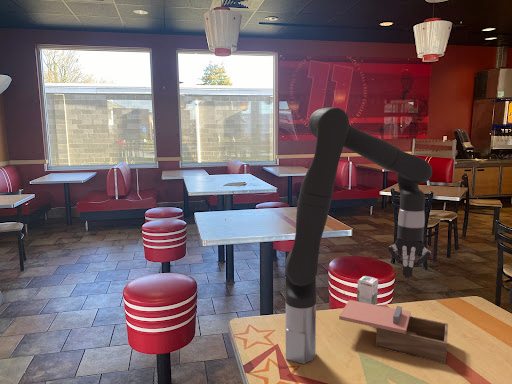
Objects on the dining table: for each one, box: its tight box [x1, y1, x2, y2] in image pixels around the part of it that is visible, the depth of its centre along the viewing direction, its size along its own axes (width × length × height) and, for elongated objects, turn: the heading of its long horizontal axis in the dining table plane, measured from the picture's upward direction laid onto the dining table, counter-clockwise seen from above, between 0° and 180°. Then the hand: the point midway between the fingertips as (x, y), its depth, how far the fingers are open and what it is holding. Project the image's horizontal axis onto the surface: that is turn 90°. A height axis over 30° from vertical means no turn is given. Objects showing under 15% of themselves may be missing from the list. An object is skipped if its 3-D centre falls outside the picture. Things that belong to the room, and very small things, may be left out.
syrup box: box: [356, 275, 379, 305], centre depth 141 cm, size 6×6×14 cm
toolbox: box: [375, 315, 449, 365], centre depth 122 cm, size 13×20×6 cm, turn 62°
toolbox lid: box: [338, 299, 412, 334], centre depth 127 cm, size 14×21×4 cm, turn 62°
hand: (407, 277), depth 120 cm, fingers closed
